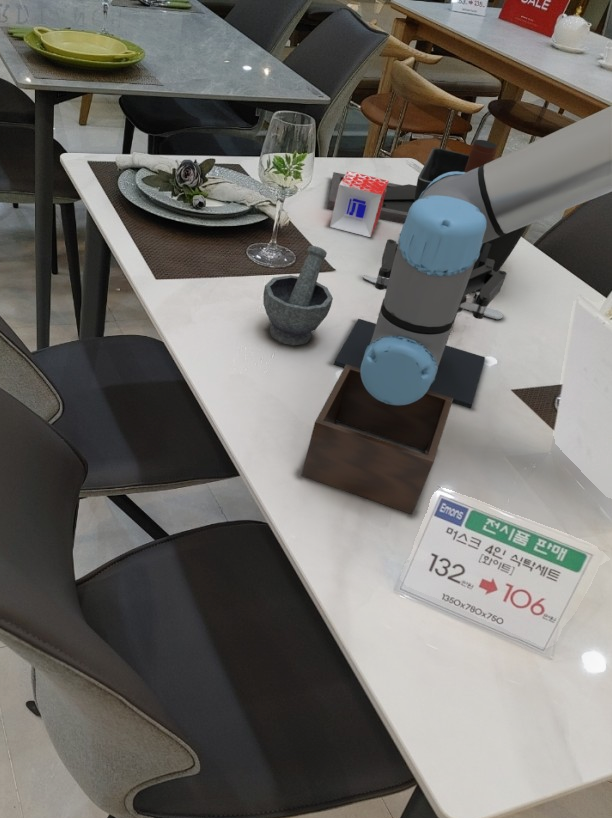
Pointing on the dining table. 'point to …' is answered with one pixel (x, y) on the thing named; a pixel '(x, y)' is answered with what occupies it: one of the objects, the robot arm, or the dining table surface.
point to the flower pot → (454, 161)
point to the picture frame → (394, 200)
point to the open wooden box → (375, 443)
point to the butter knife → (488, 313)
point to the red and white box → (358, 203)
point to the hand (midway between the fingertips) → (452, 243)
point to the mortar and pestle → (297, 301)
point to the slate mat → (453, 371)
